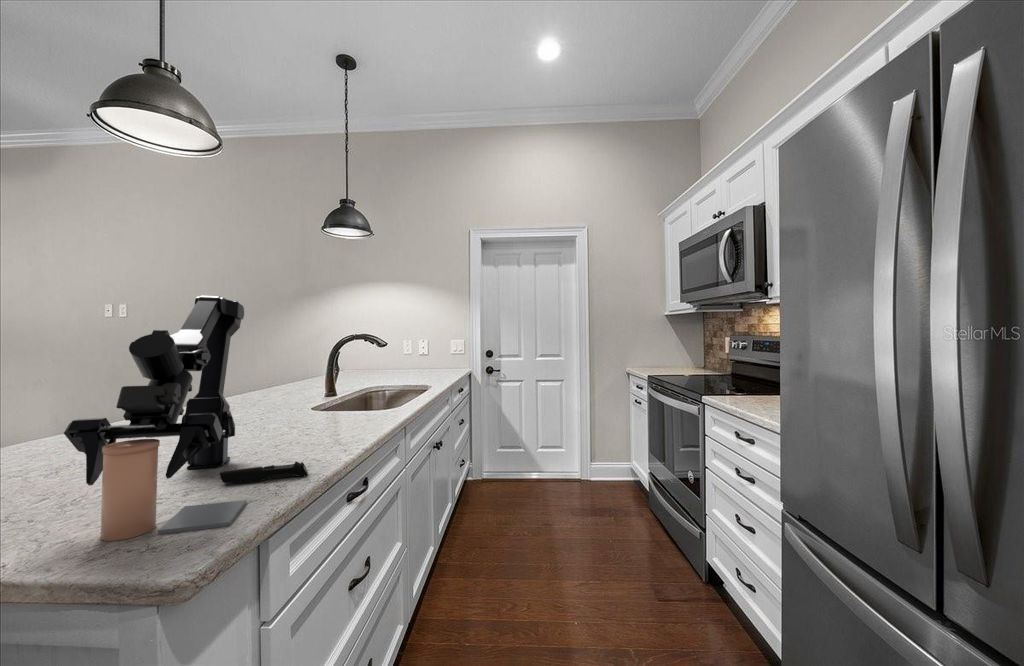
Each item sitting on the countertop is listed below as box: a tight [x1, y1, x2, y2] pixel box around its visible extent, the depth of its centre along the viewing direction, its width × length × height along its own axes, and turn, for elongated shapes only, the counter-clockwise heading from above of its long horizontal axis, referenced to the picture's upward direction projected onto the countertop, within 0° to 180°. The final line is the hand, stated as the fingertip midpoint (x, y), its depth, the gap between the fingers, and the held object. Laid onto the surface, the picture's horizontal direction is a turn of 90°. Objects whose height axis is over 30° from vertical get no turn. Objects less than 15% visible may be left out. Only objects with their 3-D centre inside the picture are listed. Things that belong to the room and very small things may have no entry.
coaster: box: [157, 499, 248, 535], centre depth 65 cm, size 9×9×1 cm
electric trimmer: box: [219, 461, 308, 484], centre depth 83 cm, size 4×16×3 cm, turn 116°
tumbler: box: [100, 438, 161, 542], centre depth 60 cm, size 6×6×13 cm
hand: (129, 480), depth 60 cm, fingers open, 9 cm apart
